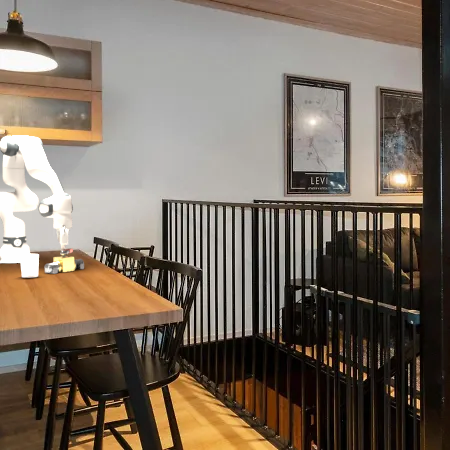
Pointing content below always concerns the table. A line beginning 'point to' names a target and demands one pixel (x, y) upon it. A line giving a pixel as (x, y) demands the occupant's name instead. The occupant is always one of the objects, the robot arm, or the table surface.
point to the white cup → (29, 265)
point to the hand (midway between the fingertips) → (63, 251)
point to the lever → (66, 251)
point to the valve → (64, 264)
